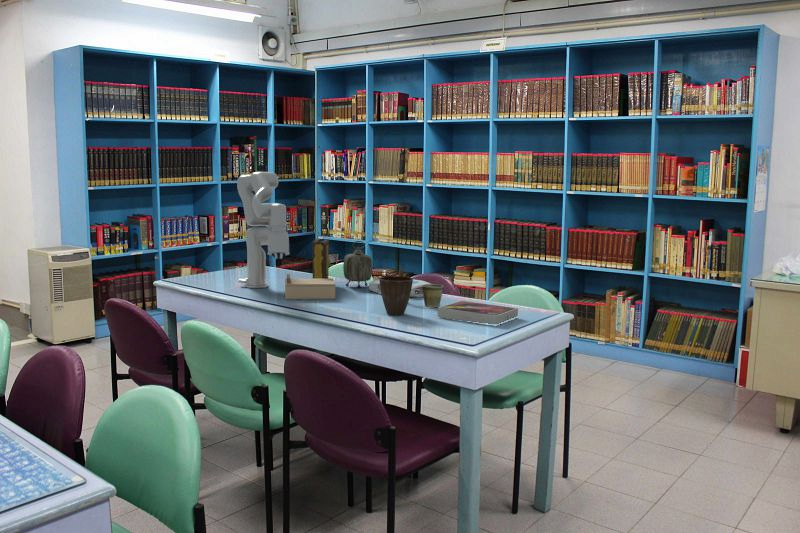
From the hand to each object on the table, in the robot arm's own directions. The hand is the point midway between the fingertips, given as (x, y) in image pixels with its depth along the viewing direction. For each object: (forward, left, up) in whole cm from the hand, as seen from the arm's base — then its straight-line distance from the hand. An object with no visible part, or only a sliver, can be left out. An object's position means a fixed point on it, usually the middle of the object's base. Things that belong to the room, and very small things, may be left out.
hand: (278, 266), depth 348 cm
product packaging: (+86, -54, -16) cm, 103 cm away
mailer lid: (+15, +1, -8) cm, 17 cm away
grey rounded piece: (+42, +29, -15) cm, 53 cm away
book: (+22, +31, -15) cm, 41 cm away
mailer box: (+15, +1, -15) cm, 21 cm away
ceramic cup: (+72, -26, -15) cm, 78 cm away
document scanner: (+63, +11, -15) cm, 66 cm away
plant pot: (+51, -44, -15) cm, 69 cm away
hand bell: (+58, -14, -15) cm, 62 cm away
